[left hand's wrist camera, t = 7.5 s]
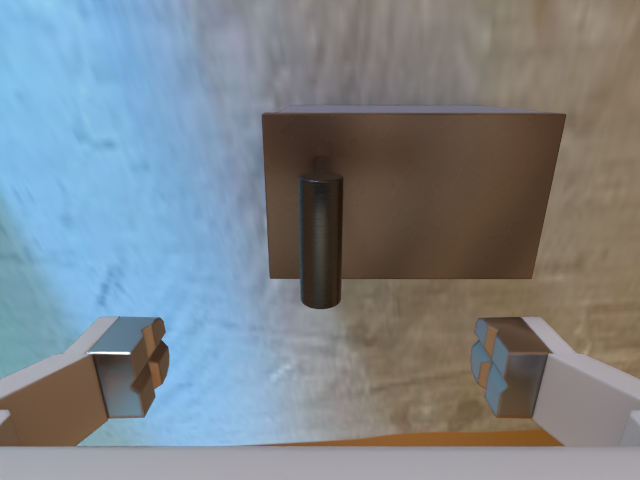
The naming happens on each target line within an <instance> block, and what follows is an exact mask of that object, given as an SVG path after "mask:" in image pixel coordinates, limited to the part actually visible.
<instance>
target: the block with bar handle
mask: <svg viewBox="0 0 640 480" xmlns="http://www.w3.org/2000/svg"><path fill="white" fill-rule="evenodd" d="M565 119H566V114H561V113H264V114H262V131H263V151H264V171H265V192H266V212H267V232H268V253H269V273H270V278H271V279H300V285H301V301H302V303H303V304H304V305H306V306H308V307H310V308H315V309H327V308H331V307H334V306H336V305H337V304H339V302H340V300H341V279H532V275H533V270H534V265H535V261H536V256H537V251H538V246H539V242H540V237H541V232H542V227H543V223H544V218H545V213H546V209H547V204H548V199H549V194H550V190H551V185H552V180H553V175H554V171H555V166H556V161H557V156H558V152H559V147H560V142H561V138H562V133H563V128H564V123H565Z"/></svg>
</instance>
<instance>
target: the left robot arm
mask: <svg viewBox="0 0 640 480" xmlns="http://www.w3.org/2000/svg"><path fill="white" fill-rule="evenodd" d="M165 333H166V331H165V326H164V321H163V320H162V319H161V318H160V317H120V316H116V317H100V318H98V319H97V320H96V321H95V322H94V323H93V324H92V325H91V326H90V327H89V328H88V329H87V330H86V331H85V332H84V333H83V334H82V335H81V336H80V337H79V338H78V339H77V340H76V341H75V342H74V343H73V344H72V345H71V346H70V347H69V348H68V349H67V350H66V351H65V352H64V353H63V354H55V355H53V356H50V357H48V358H46V359H44V360H42V361H39V362H37V363H35V364H33V365H31V366H28V367H26V368H24V369H22V370H20V371H17V372H15V373H13V374H11V375H8V376H6V377H4V378H2V379H0V480H640V379H638V378H636V377H634V376H631V375H629V374H627V373H625V372H623V371H620V370H618V369H616V368H614V367H612V366H609V365H607V364H605V363H603V362H601V361H598V360H596V359H594V358H592V357H590V356H587V355H585V354H577V353H576V352H575V351H574V350H573V349H572V348H571V347H570V346H569V345H568V344H567V343H566V342H565V341H564V340H563V339H562V338H561V337H560V336H559V335H558V334H557V333H556V332H555V331H554V330H553V329H552V328H551V327H550V326H549V325H548V324H547V323H546V322H545V321H544V320H543V319H542V318H540V317H538V316H532V317H501V318H478V320H477V322H476V325H475V331H474V333H475V334H476V336H477V337H478V339H479V340H478V341H477V342H476V343H475V344H474V345H473V346H472V350H471V369H472V372H473V375H474V378H475V380H476V382H477V384H479V385H480V386H482V387H483V388H485V389H486V391H485V399H486V400H487V402H488V404H489V406H490V408H491V410H492V411H493V413H494V415H495V417H496V418H531V419H532V421H534V422H535V423H536V424H537V425H539V426H540V427H541V428H542V429H544V430H545V431H546V432H548V433H549V434H550V435H551V436H553V437H554V438H555V439H556V440H558V441H559V442H560V443H561V444H563V445H564V446H76V445H77V444H79V443H80V442H81V441H83V440H84V439H85V438H86V437H88V436H89V435H90V434H91V433H93V432H94V431H95V430H96V429H98V428H99V427H100V426H101V425H103V424H104V423H105V422H106V421H108V419H109V418H144V417H145V415H146V413H147V412H148V410H149V408H150V406H151V404H152V402H153V400H154V399H155V391H154V389H155V388H157V387H158V386H160V385H161V384H163V382H164V380H165V378H166V376H167V372H168V367H169V349H168V346H167V345H166V344H165V343H164V342H163V341H162V340H161V339H162V337H163V336H164V334H165Z"/></svg>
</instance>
